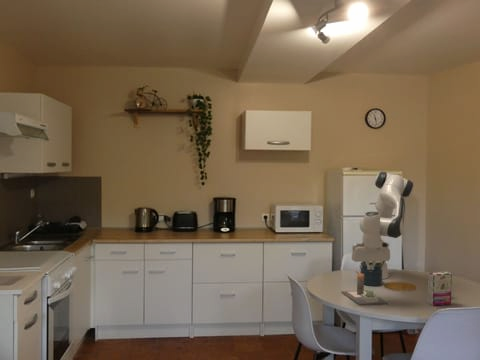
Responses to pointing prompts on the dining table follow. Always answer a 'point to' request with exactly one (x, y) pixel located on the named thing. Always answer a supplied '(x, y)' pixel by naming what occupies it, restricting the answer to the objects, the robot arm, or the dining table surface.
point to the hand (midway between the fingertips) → (370, 269)
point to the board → (364, 298)
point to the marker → (360, 284)
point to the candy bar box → (439, 288)
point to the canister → (372, 274)
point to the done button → (369, 293)
